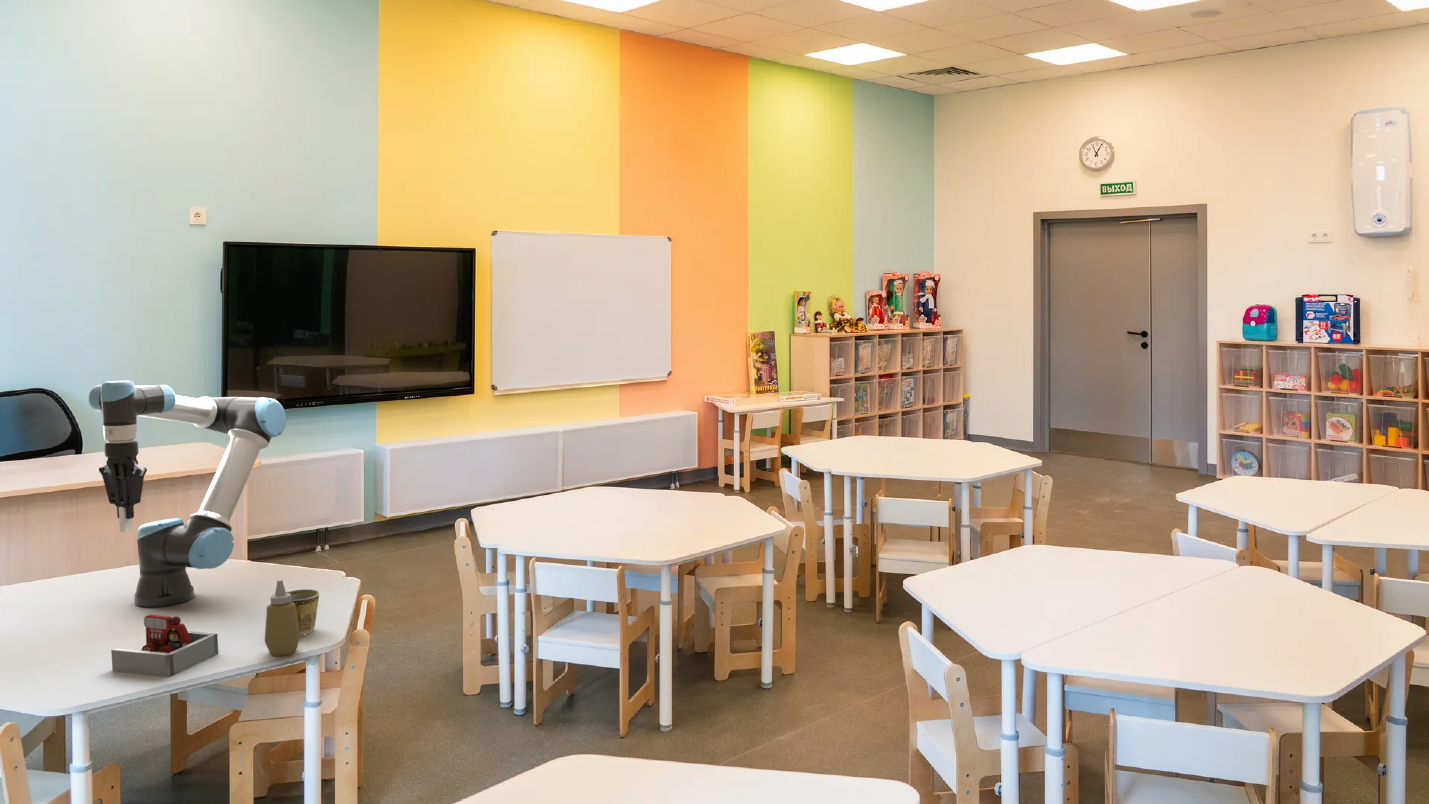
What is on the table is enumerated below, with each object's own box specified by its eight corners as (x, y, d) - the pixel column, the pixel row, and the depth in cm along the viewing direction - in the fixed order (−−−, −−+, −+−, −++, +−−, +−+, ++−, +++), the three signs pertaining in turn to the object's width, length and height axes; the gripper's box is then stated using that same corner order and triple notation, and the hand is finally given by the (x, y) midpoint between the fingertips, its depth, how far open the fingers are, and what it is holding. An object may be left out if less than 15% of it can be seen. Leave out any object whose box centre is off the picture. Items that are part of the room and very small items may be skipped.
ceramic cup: (327, 632, 259) (325, 594, 258) (288, 641, 252) (286, 602, 251) (306, 620, 268) (304, 584, 267) (268, 629, 261) (266, 592, 260)
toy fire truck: (178, 665, 236) (175, 622, 235) (135, 660, 239) (133, 618, 238) (200, 655, 243) (198, 613, 242) (159, 650, 246) (156, 609, 245)
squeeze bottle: (288, 644, 250) (285, 574, 248) (307, 651, 245) (304, 579, 243) (258, 654, 243) (254, 582, 241) (277, 660, 239) (273, 587, 237)
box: (112, 670, 232) (111, 649, 232) (163, 648, 247) (162, 628, 247) (170, 676, 229) (169, 655, 228) (218, 653, 244) (217, 633, 243)
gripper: (87, 442, 255) (93, 532, 257) (130, 443, 251) (136, 535, 254) (111, 438, 262) (117, 526, 264) (153, 439, 259) (158, 528, 261)
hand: (126, 530), depth 259 cm, fingers closed
